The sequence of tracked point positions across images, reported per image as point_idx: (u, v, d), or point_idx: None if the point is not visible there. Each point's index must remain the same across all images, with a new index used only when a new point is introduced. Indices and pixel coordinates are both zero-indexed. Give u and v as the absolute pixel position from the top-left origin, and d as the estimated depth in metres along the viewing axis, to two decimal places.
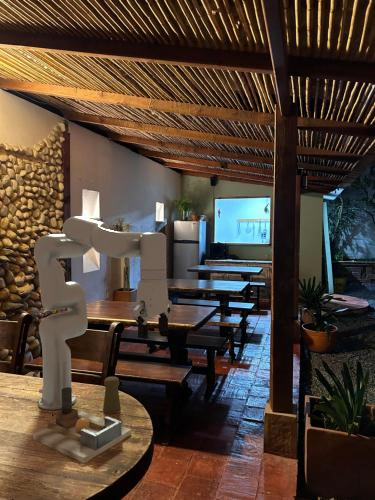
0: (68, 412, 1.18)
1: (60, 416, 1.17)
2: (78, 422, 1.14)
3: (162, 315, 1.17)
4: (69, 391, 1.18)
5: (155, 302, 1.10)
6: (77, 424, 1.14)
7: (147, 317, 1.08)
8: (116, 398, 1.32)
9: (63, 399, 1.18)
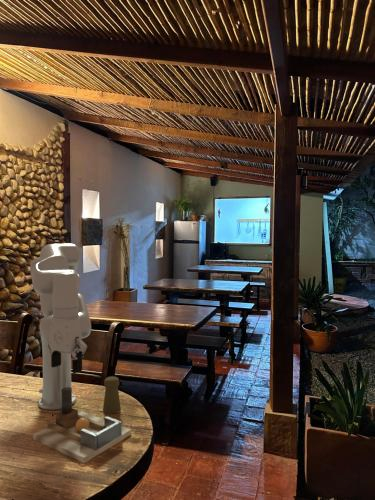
0: (68, 412, 1.18)
1: (60, 416, 1.17)
2: (78, 422, 1.14)
3: (55, 351, 1.21)
4: (69, 391, 1.18)
5: None
6: (77, 424, 1.14)
7: None
8: (116, 398, 1.32)
9: (63, 399, 1.18)
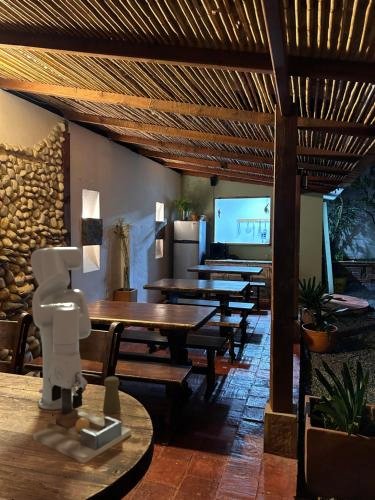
0: (68, 412, 1.18)
1: (60, 416, 1.17)
2: (78, 422, 1.14)
3: (56, 385, 1.22)
4: (69, 391, 1.18)
5: None
6: (77, 424, 1.14)
7: None
8: (116, 398, 1.32)
9: (63, 399, 1.18)
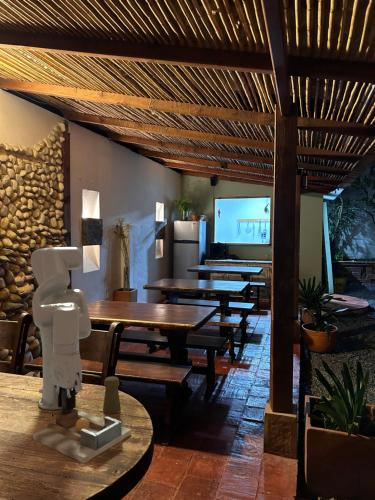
0: (68, 412, 1.18)
1: (60, 416, 1.17)
2: (78, 422, 1.14)
3: None
4: None
5: None
6: (77, 424, 1.14)
7: None
8: (116, 398, 1.32)
9: (63, 399, 1.18)
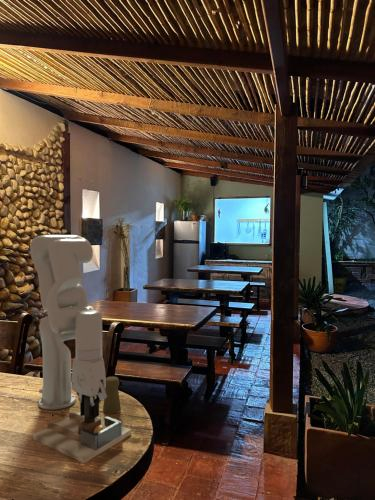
0: (91, 421, 1.12)
1: (83, 425, 1.11)
2: None
3: None
4: None
5: None
6: None
7: None
8: (116, 398, 1.32)
9: (86, 407, 1.12)
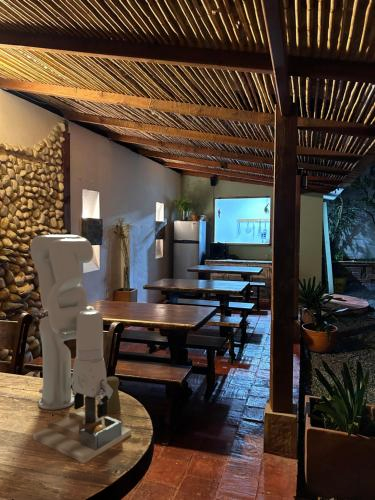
0: (92, 421, 1.12)
1: (84, 425, 1.11)
2: None
3: (78, 392, 1.16)
4: (93, 399, 1.12)
5: None
6: None
7: None
8: (116, 398, 1.32)
9: (87, 408, 1.12)
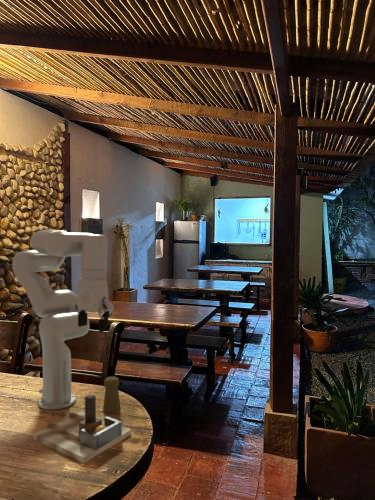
0: (92, 421, 1.12)
1: (84, 425, 1.11)
2: None
3: (82, 311, 1.24)
4: (93, 399, 1.12)
5: None
6: None
7: None
8: (116, 398, 1.32)
9: (87, 408, 1.12)
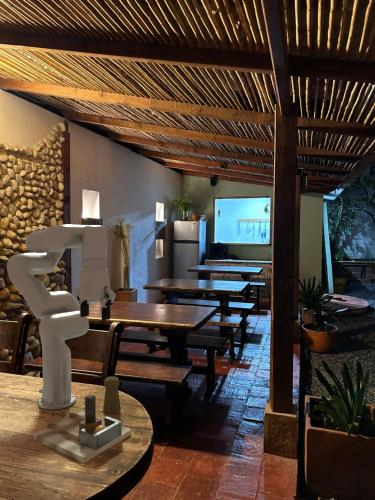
0: (92, 421, 1.12)
1: (84, 425, 1.11)
2: None
3: (84, 302, 1.26)
4: (93, 399, 1.12)
5: None
6: None
7: None
8: (116, 398, 1.32)
9: (87, 408, 1.12)
